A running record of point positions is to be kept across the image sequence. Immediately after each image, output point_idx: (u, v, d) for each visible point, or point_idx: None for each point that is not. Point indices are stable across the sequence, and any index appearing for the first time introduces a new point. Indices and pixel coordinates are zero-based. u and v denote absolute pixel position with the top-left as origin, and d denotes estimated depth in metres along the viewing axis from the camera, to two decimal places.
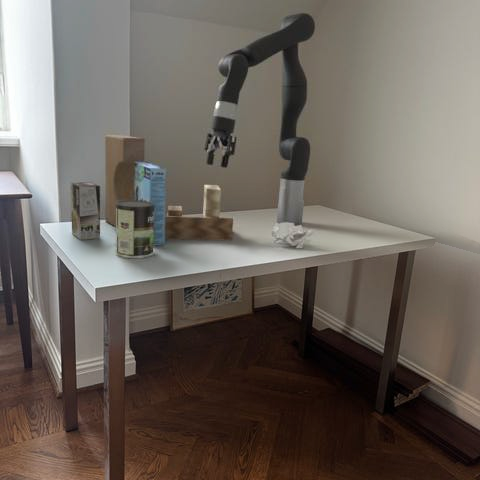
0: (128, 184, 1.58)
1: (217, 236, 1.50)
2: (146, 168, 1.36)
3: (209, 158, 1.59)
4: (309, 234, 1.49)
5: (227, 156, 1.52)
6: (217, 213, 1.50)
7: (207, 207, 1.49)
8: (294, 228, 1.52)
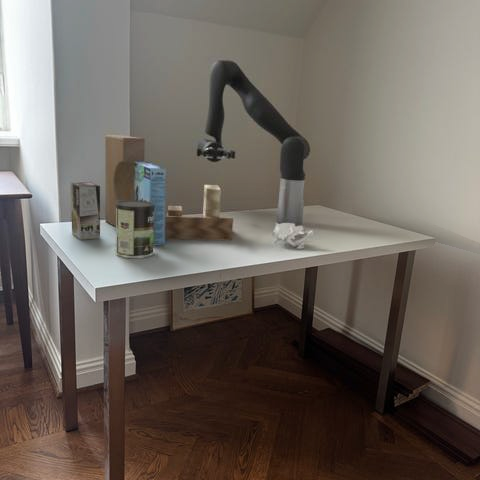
0: (128, 184, 1.58)
1: (217, 236, 1.50)
2: (146, 168, 1.36)
3: (227, 156, 1.70)
4: (310, 234, 1.48)
5: (201, 153, 1.70)
6: (217, 213, 1.50)
7: (207, 207, 1.49)
8: (295, 228, 1.51)
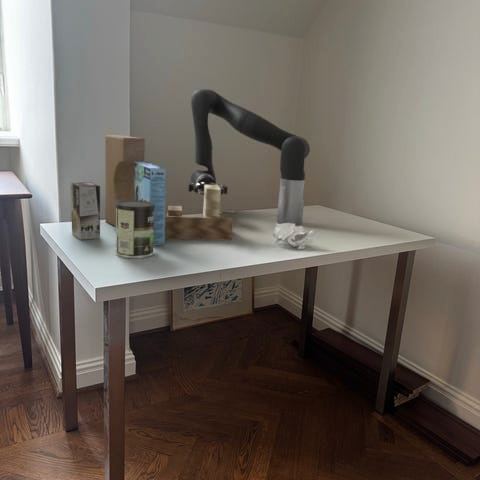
0: (128, 184, 1.58)
1: (217, 236, 1.50)
2: (146, 168, 1.36)
3: None
4: (310, 235, 1.48)
5: (193, 189, 1.68)
6: (217, 213, 1.50)
7: (207, 207, 1.49)
8: (295, 229, 1.51)
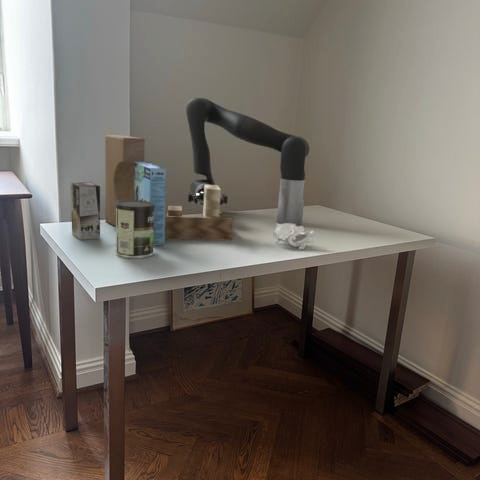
0: (128, 184, 1.58)
1: (217, 236, 1.50)
2: (146, 168, 1.36)
3: None
4: (311, 235, 1.48)
5: (192, 199, 1.66)
6: (217, 213, 1.50)
7: (207, 207, 1.49)
8: (296, 229, 1.50)
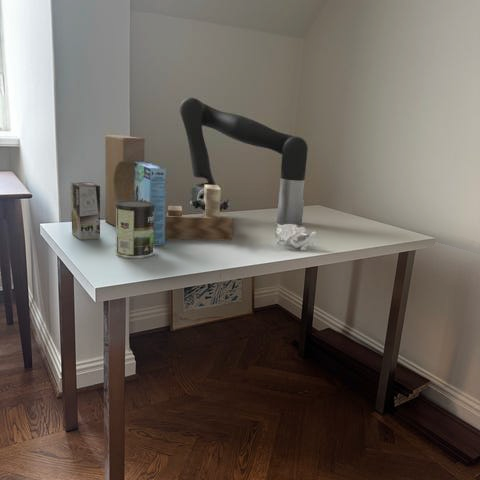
0: (128, 184, 1.58)
1: (217, 236, 1.50)
2: (146, 168, 1.36)
3: None
4: (313, 236, 1.47)
5: (200, 205, 1.55)
6: (217, 213, 1.50)
7: (207, 207, 1.49)
8: (297, 230, 1.50)
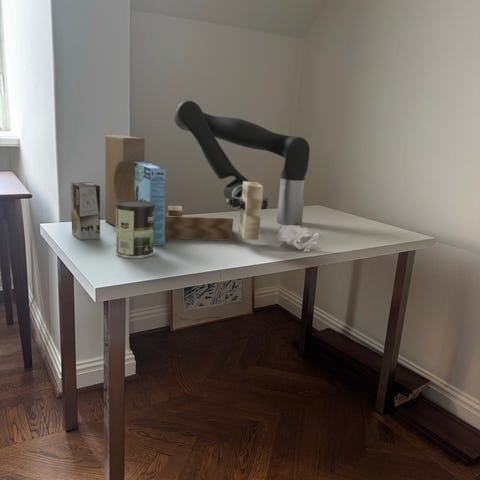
0: (128, 184, 1.58)
1: (217, 236, 1.50)
2: (146, 168, 1.36)
3: None
4: (315, 237, 1.45)
5: (239, 204, 1.42)
6: (258, 212, 1.38)
7: (248, 206, 1.37)
8: (299, 231, 1.48)
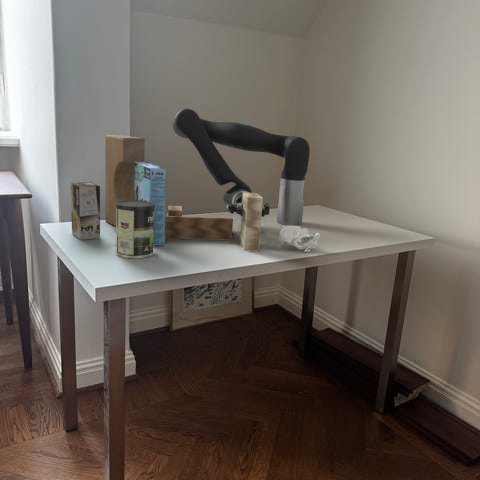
0: (128, 184, 1.58)
1: (217, 236, 1.50)
2: (146, 168, 1.36)
3: None
4: (316, 237, 1.45)
5: (236, 210, 1.43)
6: (258, 224, 1.39)
7: (248, 217, 1.38)
8: (300, 231, 1.48)
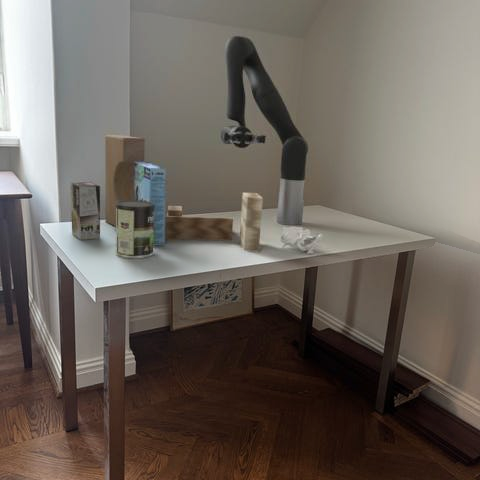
0: (128, 184, 1.58)
1: (217, 236, 1.50)
2: (146, 168, 1.36)
3: (257, 141, 1.57)
4: (319, 238, 1.44)
5: (229, 137, 1.57)
6: (258, 224, 1.39)
7: (248, 217, 1.38)
8: (303, 232, 1.46)
